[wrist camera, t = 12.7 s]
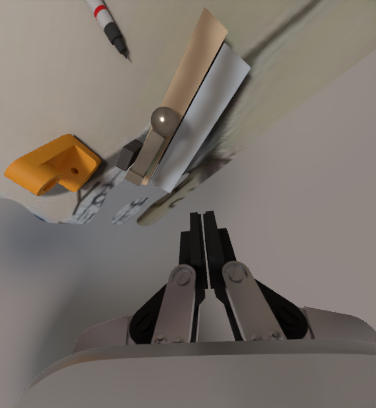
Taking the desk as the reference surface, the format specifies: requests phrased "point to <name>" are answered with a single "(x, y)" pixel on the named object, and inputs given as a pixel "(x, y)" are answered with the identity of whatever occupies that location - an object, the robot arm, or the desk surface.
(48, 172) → the bracket
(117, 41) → the marker
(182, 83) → the doorframe
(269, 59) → the desk surface
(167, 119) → the door handle
